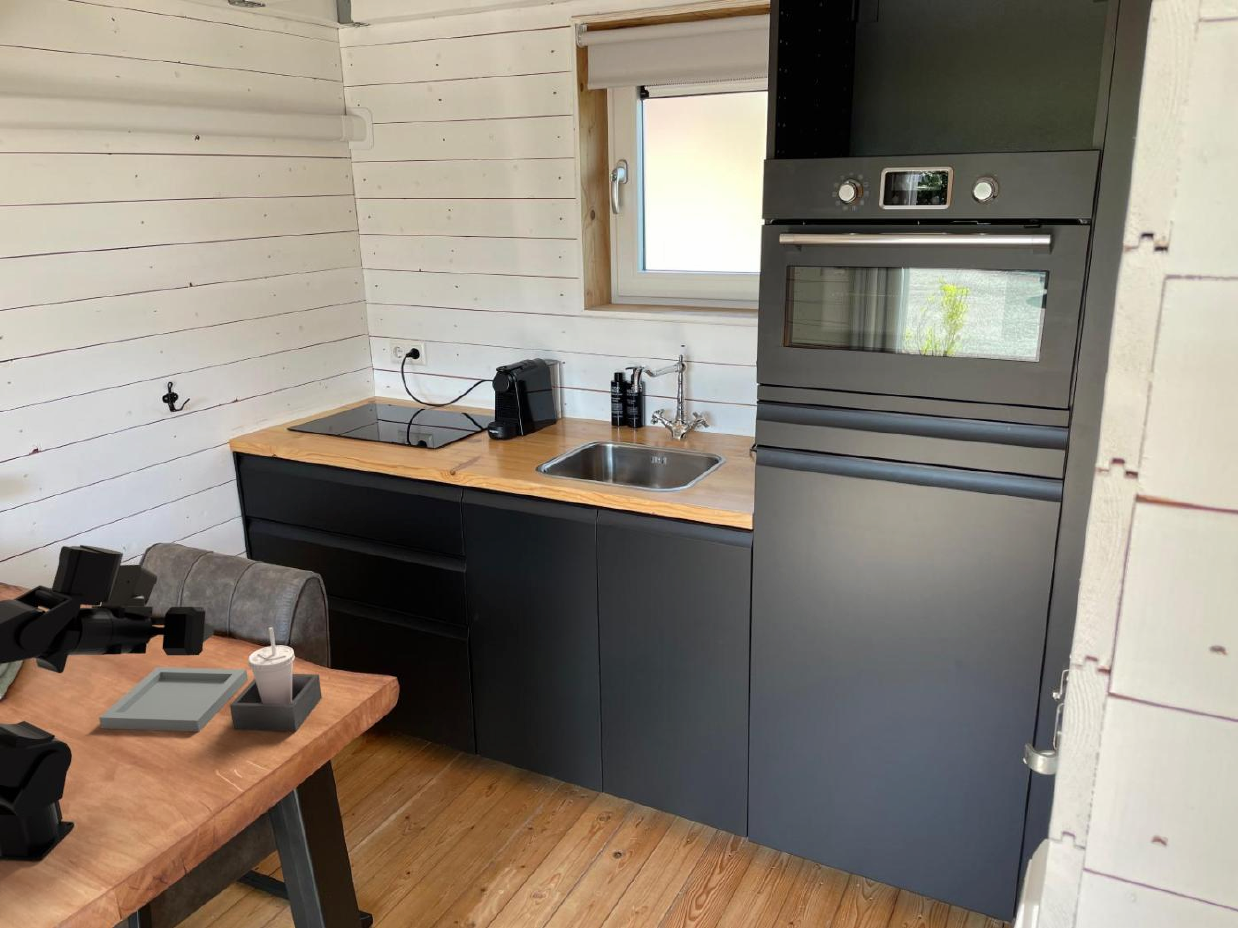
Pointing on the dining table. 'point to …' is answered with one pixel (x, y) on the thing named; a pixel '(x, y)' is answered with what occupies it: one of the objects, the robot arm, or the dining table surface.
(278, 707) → the cup holder
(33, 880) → the dining table surface
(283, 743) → the dining table surface
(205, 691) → the tray
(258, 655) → the smoothie
